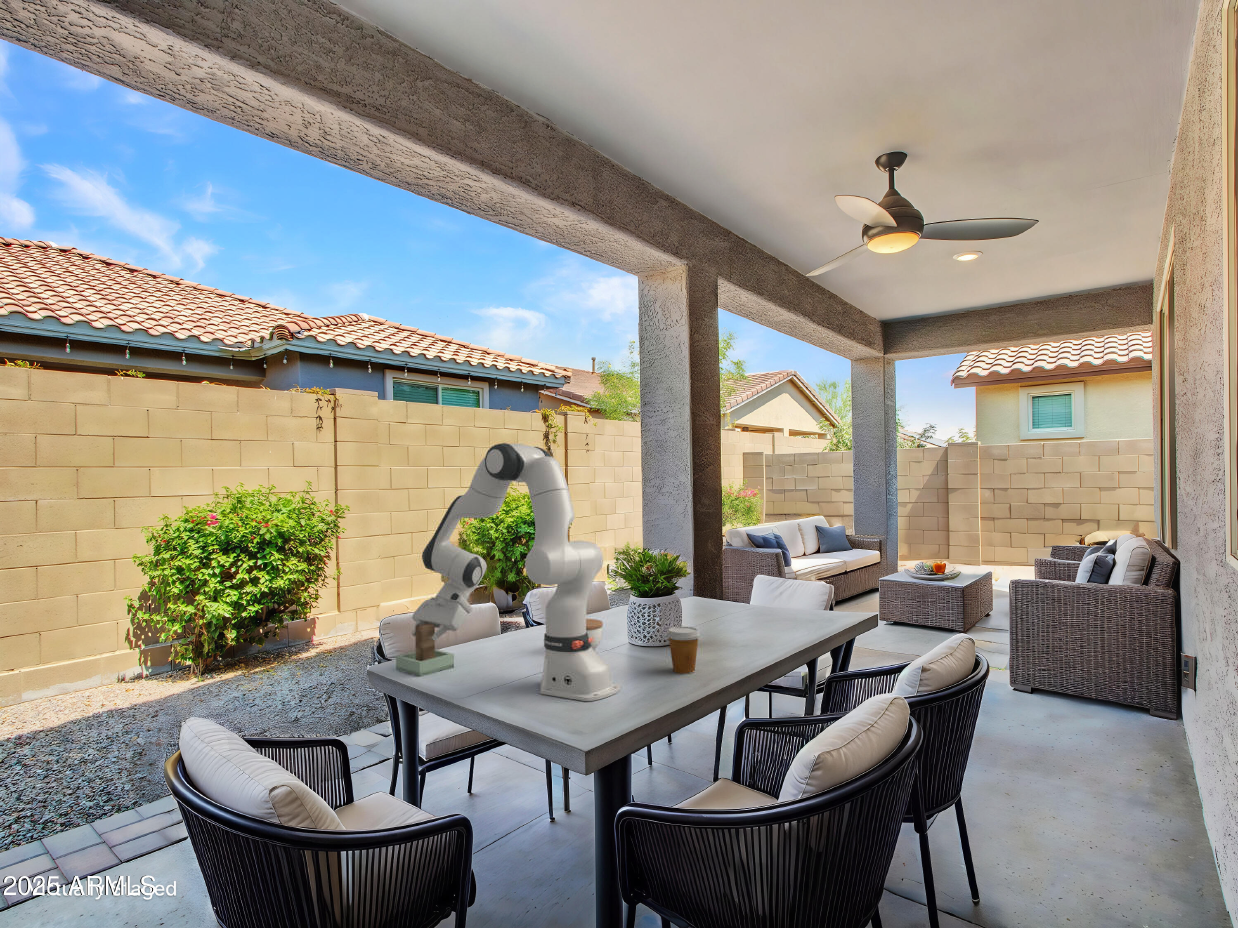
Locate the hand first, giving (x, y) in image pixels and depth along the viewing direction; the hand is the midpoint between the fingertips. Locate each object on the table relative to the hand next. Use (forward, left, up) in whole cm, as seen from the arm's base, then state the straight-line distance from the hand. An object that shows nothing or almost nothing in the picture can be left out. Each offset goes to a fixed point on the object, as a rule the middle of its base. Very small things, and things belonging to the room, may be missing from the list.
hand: (423, 637), depth 195 cm
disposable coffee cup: (-64, -45, -10) cm, 79 cm away
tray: (0, -1, -9) cm, 9 cm away
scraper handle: (0, -1, -8) cm, 8 cm away
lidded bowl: (-24, -46, -10) cm, 52 cm away
